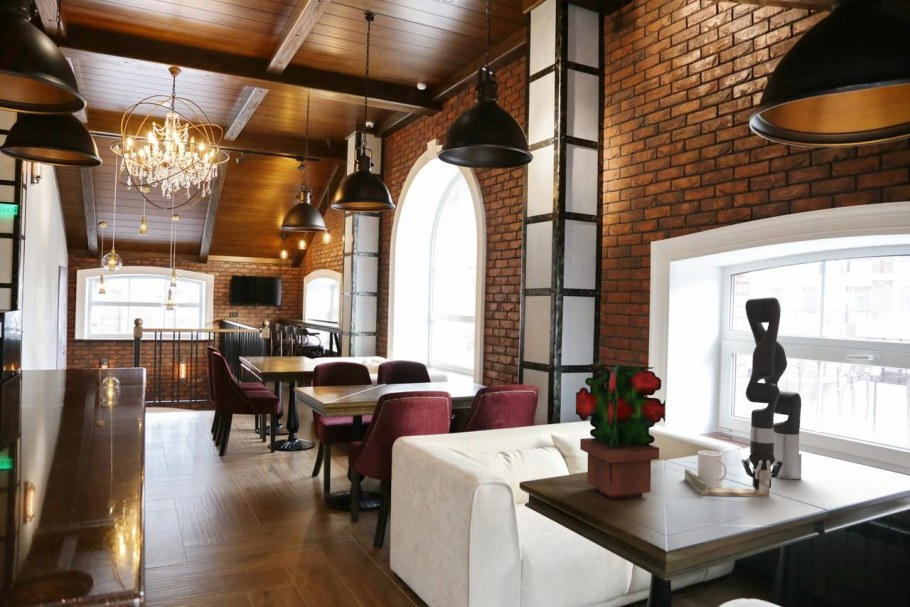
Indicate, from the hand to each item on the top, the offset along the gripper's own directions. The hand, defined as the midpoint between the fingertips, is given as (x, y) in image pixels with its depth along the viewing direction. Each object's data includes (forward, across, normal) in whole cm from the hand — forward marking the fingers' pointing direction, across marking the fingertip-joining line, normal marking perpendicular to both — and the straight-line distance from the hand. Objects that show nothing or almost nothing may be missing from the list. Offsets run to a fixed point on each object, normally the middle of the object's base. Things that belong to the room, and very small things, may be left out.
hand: (761, 488), depth 217 cm
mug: (+3, +14, -10) cm, 17 cm away
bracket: (+2, +10, -7) cm, 12 cm away
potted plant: (+3, +50, +2) cm, 50 cm away
